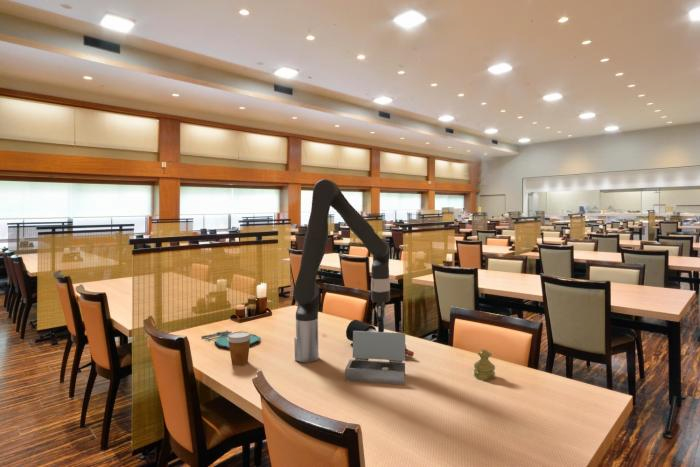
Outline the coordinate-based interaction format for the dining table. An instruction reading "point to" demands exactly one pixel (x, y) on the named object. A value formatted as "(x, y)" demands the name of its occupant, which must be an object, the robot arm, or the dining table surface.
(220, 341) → the cutlery set
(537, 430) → the dining table surface
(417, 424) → the dining table surface
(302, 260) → the robot arm
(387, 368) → the dark grey tape roll
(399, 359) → the cover
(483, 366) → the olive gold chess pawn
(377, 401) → the dining table surface
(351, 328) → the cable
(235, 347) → the disposable coffee cup
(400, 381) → the grey rectangular box
